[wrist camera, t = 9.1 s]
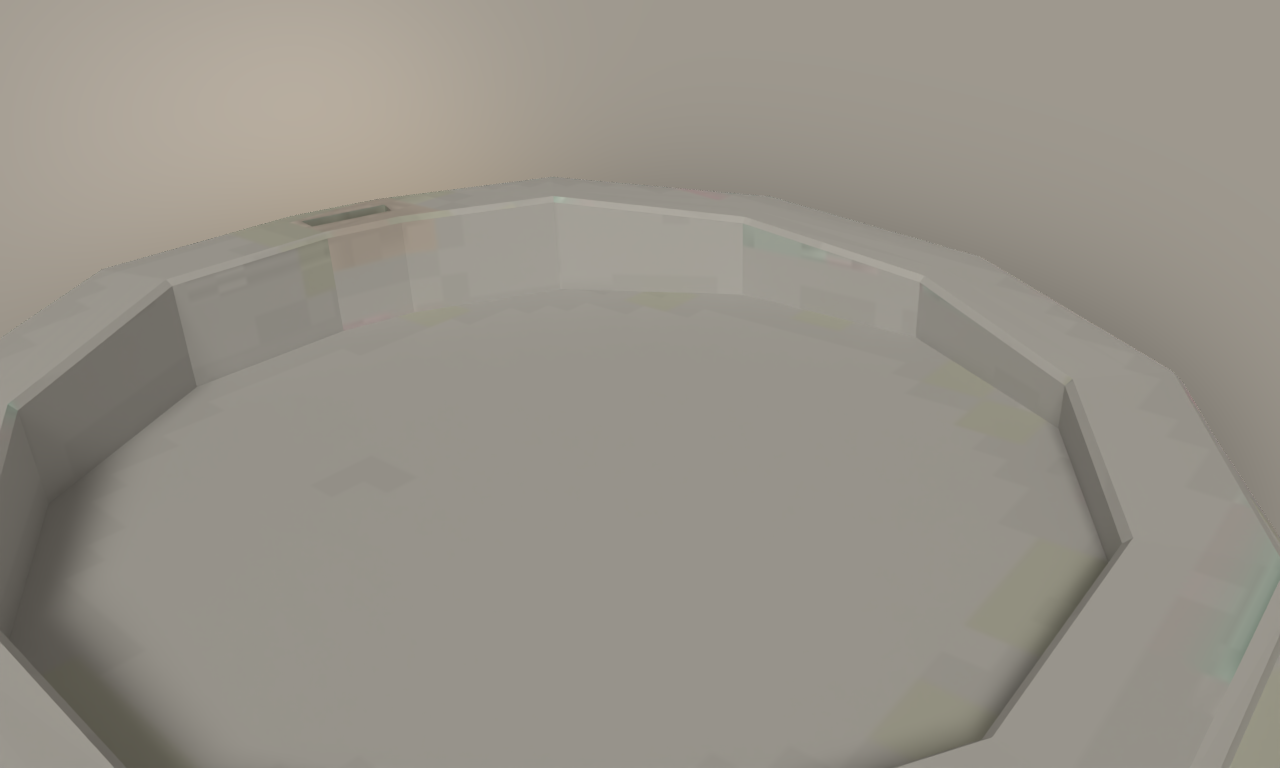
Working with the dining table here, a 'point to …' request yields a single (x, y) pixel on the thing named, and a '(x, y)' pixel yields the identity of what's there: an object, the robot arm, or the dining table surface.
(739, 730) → the disposable coffee cup
